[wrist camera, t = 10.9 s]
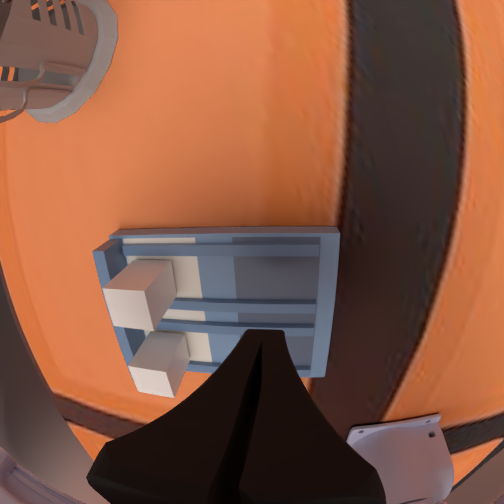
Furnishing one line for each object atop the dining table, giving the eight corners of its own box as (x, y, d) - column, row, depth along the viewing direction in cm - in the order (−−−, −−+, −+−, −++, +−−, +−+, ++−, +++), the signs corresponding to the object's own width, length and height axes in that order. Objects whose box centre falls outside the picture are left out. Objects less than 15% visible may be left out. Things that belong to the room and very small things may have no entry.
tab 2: (184, 334, 17) (165, 372, 14) (190, 360, 18) (174, 397, 15) (150, 331, 18) (128, 365, 15) (157, 356, 19) (138, 391, 15)
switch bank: (336, 226, 15) (347, 247, 13) (323, 365, 19) (326, 398, 16) (118, 229, 17) (90, 247, 14) (149, 354, 21) (132, 382, 18)
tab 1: (171, 260, 16) (144, 291, 12) (177, 295, 16) (154, 330, 13) (133, 260, 16) (102, 288, 13) (140, 293, 17) (113, 326, 13)
